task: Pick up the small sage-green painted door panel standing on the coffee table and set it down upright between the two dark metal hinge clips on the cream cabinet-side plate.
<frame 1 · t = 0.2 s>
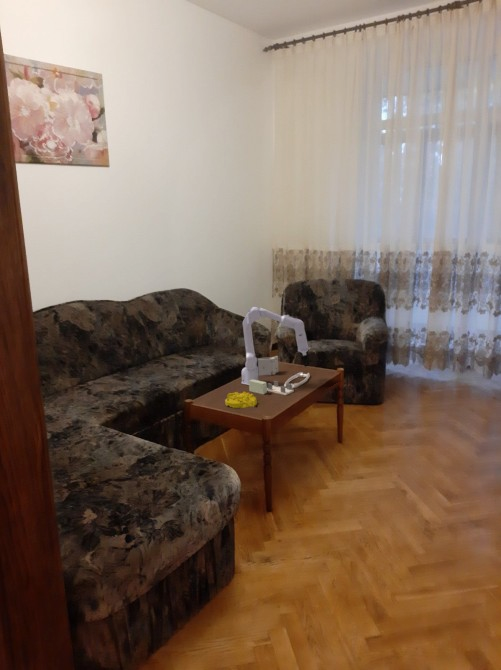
hand: (306, 364, 281), 11 cm above the table, tool pointing down, fingers open, 7 cm apart
hinge plate: (279, 390, 271), on the table
yellow textured disc: (240, 403, 257), on the table
door handle: (297, 382, 285), on the table
door panel: (258, 392, 272), on the table
hinge: (268, 374, 303), on the table
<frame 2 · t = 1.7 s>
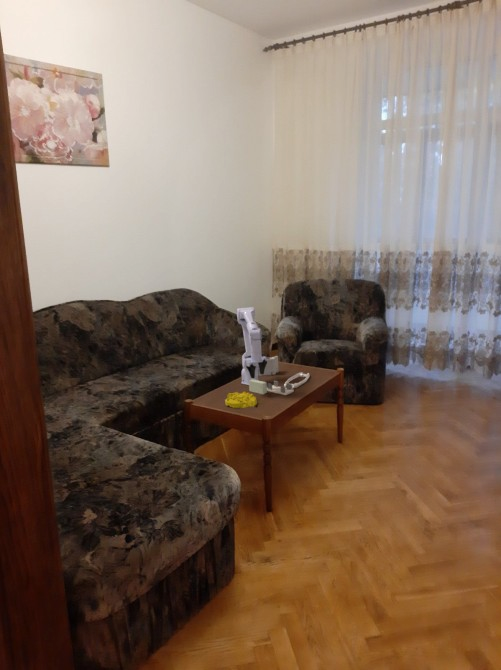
hand: (257, 376, 270), 9 cm above the table, tool pointing down, fingers open, 7 cm apart
nothing on the table moved.
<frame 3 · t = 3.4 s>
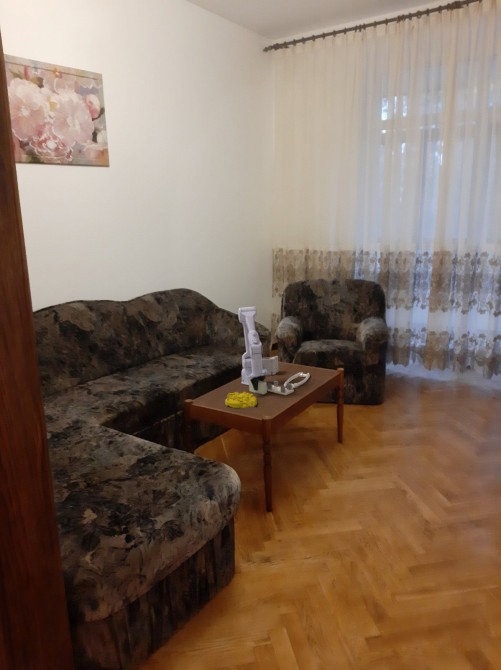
hand: (258, 389, 271), 1 cm above the table, tool pointing down, fingers closed on door panel, 3 cm apart
door panel: (258, 391, 272), on the table, touching gripper
everything else where it was.
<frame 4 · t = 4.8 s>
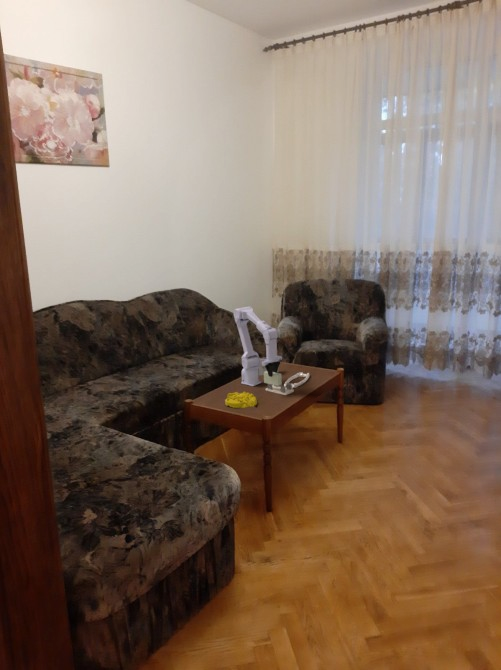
hand: (272, 375, 269), 9 cm above the table, tool pointing down, fingers closed on door panel, 3 cm apart
door panel: (272, 383, 270), point 4 cm above the table, touching gripper
everything else where it was.
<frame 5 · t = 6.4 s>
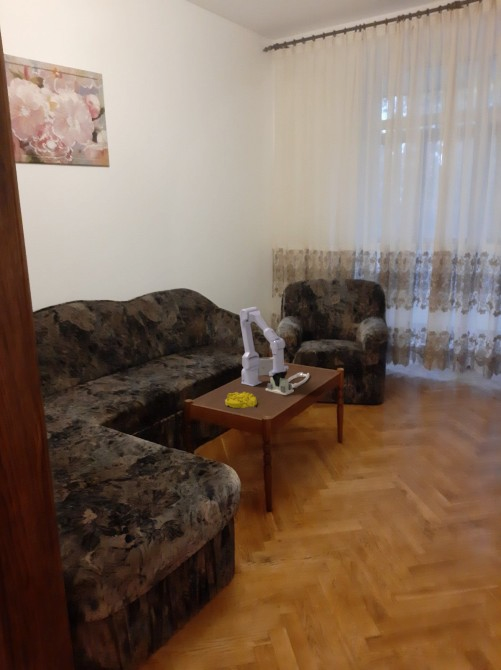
hand: (279, 385, 270), 3 cm above the table, tool pointing down, fingers closed on door panel, 3 cm apart
door panel: (279, 389, 271), point 1 cm above the table, touching gripper, hinge plate
everything else where it was.
when the fingers open (3 cm above the table, at t = 6.7 s): door panel stays where it is, resting on hinge plate.
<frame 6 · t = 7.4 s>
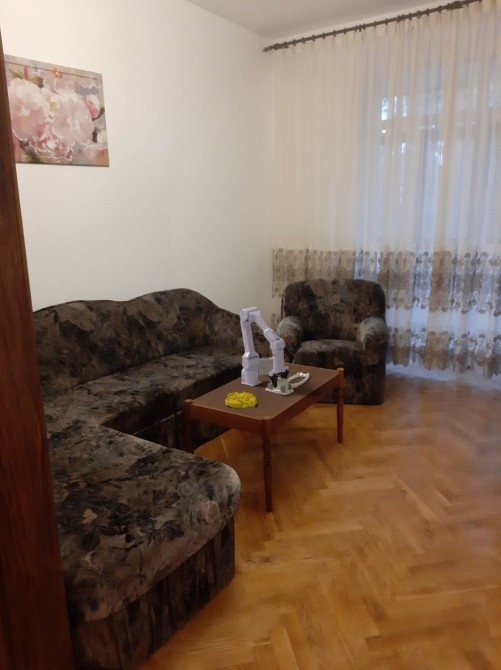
hand: (279, 385, 270), 3 cm above the table, tool pointing down, fingers open, 7 cm apart
door panel: (279, 389, 271), point 1 cm above the table, touching hinge plate
everything else where it was.
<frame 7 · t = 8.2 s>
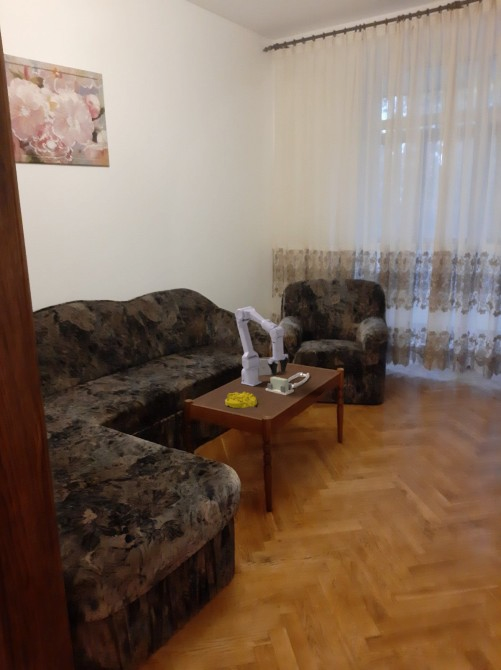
hand: (278, 373, 269), 10 cm above the table, tool pointing down, fingers open, 7 cm apart
nothing on the table moved.
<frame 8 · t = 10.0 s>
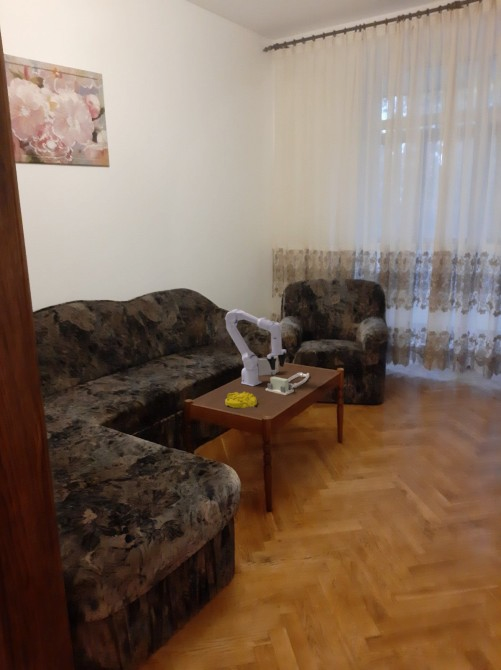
hand: (277, 368, 279), 10 cm above the table, tool pointing down, fingers open, 7 cm apart
nothing on the table moved.
at the end: door panel 0.0 cm off-centre on the hinge plate, point 1.0 cm above the hinge plate's base; door panel tilted 0°; the gripper is holding nothing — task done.
